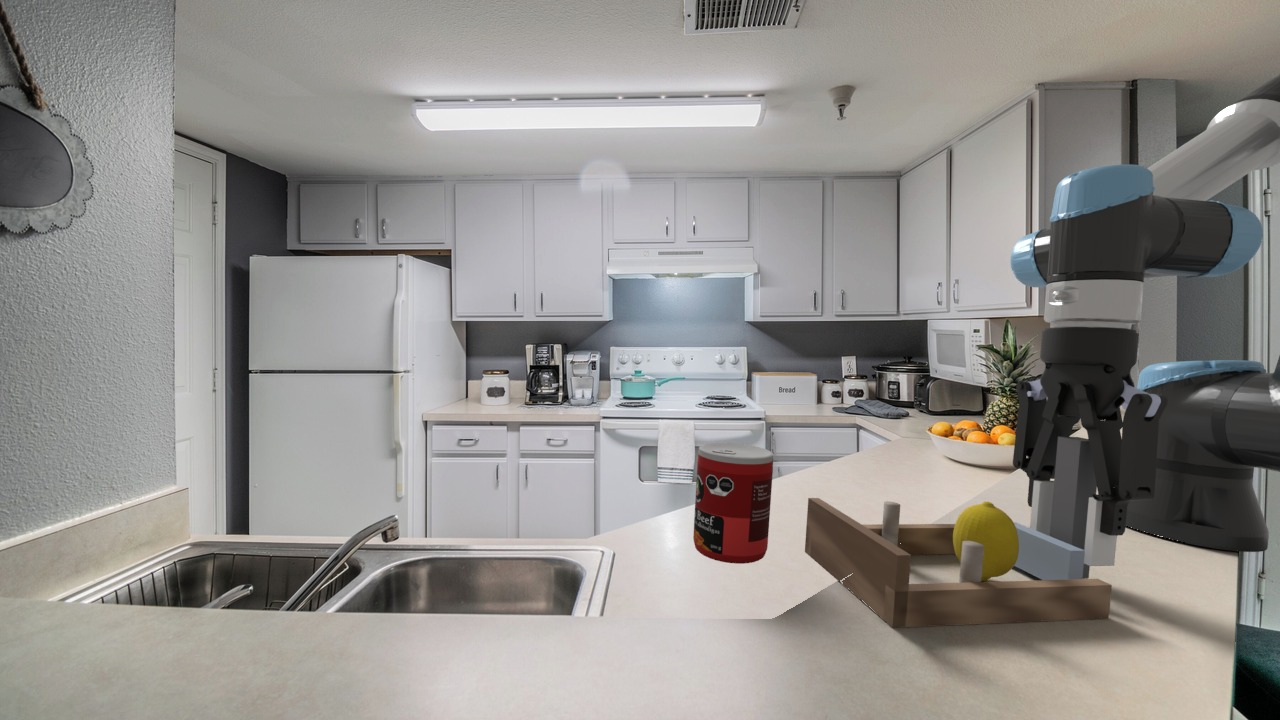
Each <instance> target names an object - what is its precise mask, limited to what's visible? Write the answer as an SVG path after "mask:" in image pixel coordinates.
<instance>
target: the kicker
mask: <svg viewBox="0 0 1280 720" xmlns="http://www.w3.org/2000/svg"><path fill="white" fill-rule="evenodd" d="M1053 481H1054V489H1053V501H1052V512H1051V524H1050V535H1049V536H1048V535H1046V534H1043V533H1041V532H1038V531H1036V530H1033V529H1031V528H1030V527H1028V526H1026V525H1024V524H1021V523H1018V522H1017V521H1016V522H1014V521H1013V522H1014V524H1015V527H1016V529H1017V533H1018V539H1019V554H1018V558H1017V561H1016V563H1015V565H1014V566H1013V567H1016V568H1018V569H1020V570H1022V571H1023V572H1027V573H1028V574H1030V575H1032V576H1034V577H1036V578H1038V579H1039V580H1073V579H1090V578H1089V577H1090V570H1091V569H1090V567H1091V566H1089V565H1087V564H1084V555H1085V550H1084V548H1085V536H1086V525H1087V514H1088V503H1089V497H1093V496H1092V494H1097V492H1098V490H1097V484H1096V478H1095V473H1094V467H1093V462H1092V456H1091V450H1090V445H1089V439H1088V438H1085V437H1079V436H1069V437H1058V443H1057V454H1056V466H1055V478H1054V479H1053Z"/></svg>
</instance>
